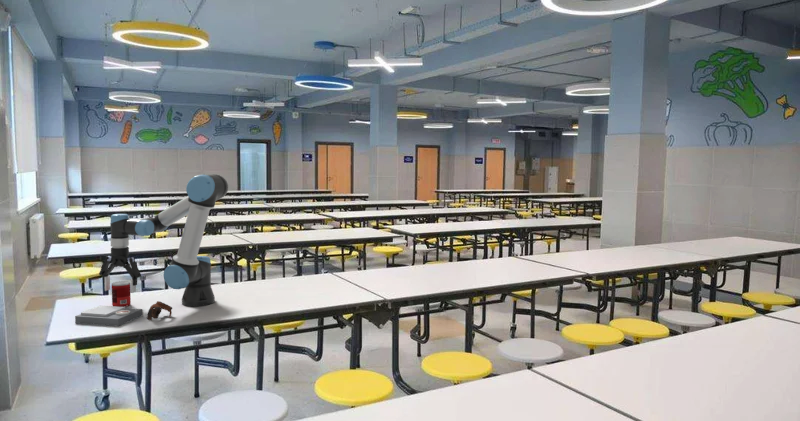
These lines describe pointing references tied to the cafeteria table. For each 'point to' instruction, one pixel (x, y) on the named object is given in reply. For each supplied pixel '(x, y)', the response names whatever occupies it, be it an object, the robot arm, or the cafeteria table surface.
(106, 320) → the dial scale
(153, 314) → the brown arched piece
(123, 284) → the canned food
